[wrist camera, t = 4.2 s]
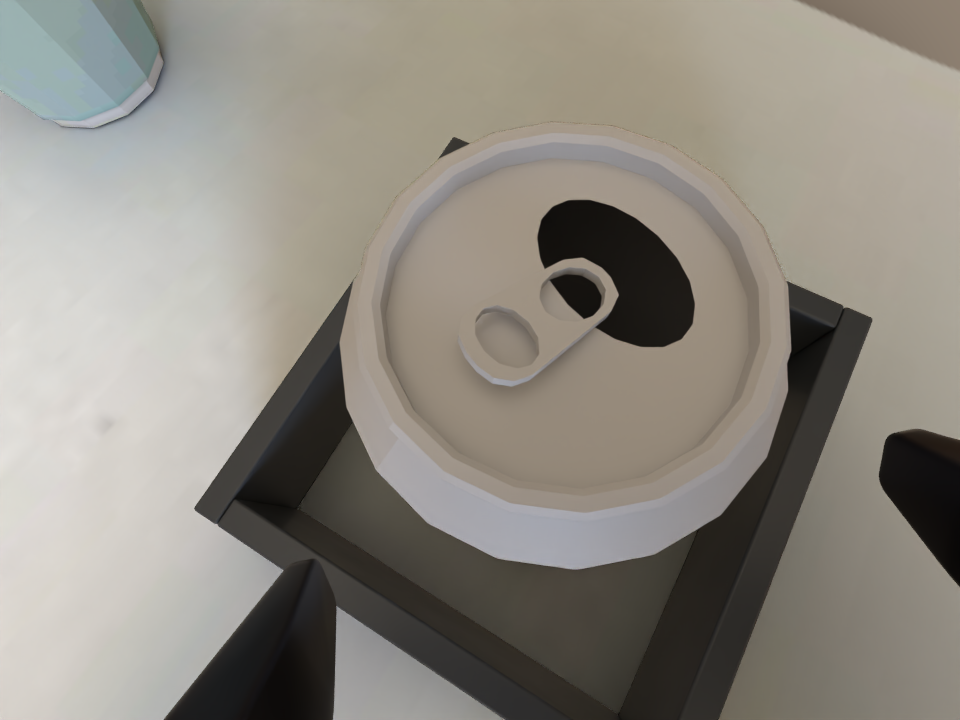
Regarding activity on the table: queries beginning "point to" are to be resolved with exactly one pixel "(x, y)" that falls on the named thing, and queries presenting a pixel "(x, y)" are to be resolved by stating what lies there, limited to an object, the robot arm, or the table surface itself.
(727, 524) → the tray
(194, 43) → the table surface
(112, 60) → the disposable coffee cup
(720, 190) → the can
